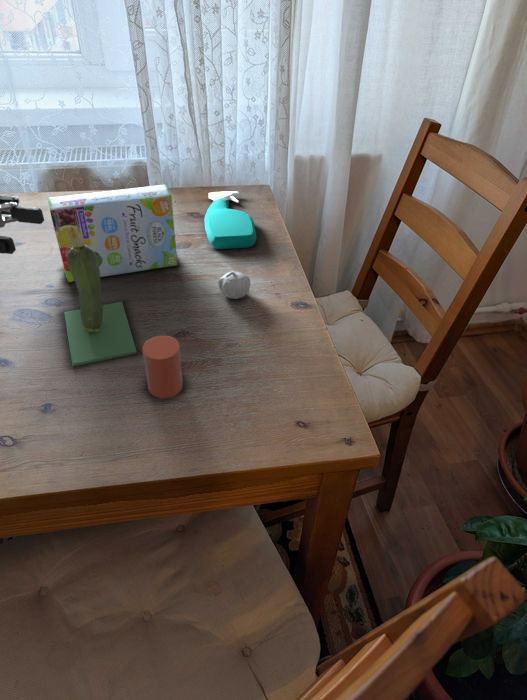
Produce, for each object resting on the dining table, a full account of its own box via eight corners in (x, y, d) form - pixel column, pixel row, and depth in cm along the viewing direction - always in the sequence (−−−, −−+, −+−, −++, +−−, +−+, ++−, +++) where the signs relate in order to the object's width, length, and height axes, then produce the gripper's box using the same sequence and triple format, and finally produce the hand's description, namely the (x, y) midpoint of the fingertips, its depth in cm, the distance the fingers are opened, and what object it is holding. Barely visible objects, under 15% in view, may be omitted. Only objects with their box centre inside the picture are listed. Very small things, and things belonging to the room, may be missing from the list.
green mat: (136, 353, 85) (136, 350, 84) (72, 366, 82) (72, 364, 81) (122, 304, 94) (122, 301, 94) (64, 314, 91) (64, 311, 91)
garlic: (220, 305, 95) (220, 281, 92) (216, 288, 99) (216, 264, 96) (253, 302, 96) (253, 278, 93) (247, 285, 100) (248, 262, 97)
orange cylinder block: (173, 402, 77) (169, 363, 72) (141, 393, 78) (135, 353, 73) (188, 379, 81) (185, 340, 76) (158, 370, 82) (153, 331, 77)
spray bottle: (208, 250, 109) (199, 199, 127) (259, 248, 111) (243, 198, 129) (207, 238, 107) (199, 187, 125) (260, 235, 109) (244, 186, 127)
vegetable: (94, 320, 90) (70, 213, 76) (116, 326, 89) (96, 218, 75) (79, 335, 87) (51, 226, 73) (101, 341, 86) (78, 232, 72)
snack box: (171, 252, 108) (165, 182, 98) (177, 266, 104) (172, 195, 94) (64, 268, 102) (46, 195, 92) (67, 283, 98) (48, 210, 88)
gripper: (-130, 217, 66) (-7, 230, 64) (-62, 173, 76) (44, 183, 75) (-105, 268, 70) (10, 281, 69) (-45, 220, 81) (56, 230, 80)
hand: (28, 230), depth 72 cm, fingers open, 8 cm apart
